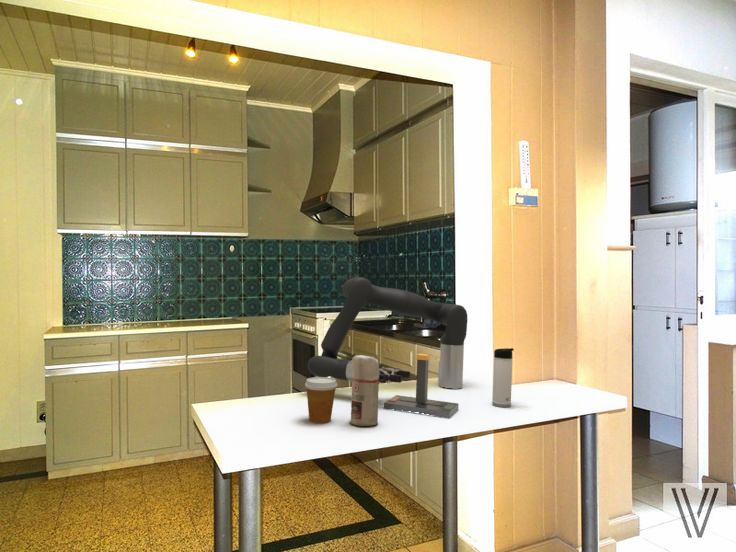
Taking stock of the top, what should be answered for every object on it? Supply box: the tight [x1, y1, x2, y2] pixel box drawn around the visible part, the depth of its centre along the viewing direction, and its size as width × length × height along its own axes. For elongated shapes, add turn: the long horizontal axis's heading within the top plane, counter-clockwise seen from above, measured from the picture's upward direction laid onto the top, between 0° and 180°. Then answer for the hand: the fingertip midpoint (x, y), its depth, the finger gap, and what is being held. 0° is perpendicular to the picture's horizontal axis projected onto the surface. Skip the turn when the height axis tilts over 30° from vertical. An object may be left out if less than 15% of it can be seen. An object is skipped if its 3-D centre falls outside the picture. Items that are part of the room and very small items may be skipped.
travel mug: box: [491, 347, 514, 409], centre depth 171 cm, size 6×7×20 cm
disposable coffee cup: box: [304, 376, 338, 424], centre depth 146 cm, size 10×10×12 cm
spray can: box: [349, 354, 380, 427], centre depth 144 cm, size 8×8×20 cm
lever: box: [415, 353, 430, 403], centre depth 163 cm, size 3×3×16 cm
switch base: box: [383, 394, 460, 419], centre depth 163 cm, size 22×12×2 cm, turn 66°
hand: (405, 377), depth 165 cm, fingers open, 8 cm apart
